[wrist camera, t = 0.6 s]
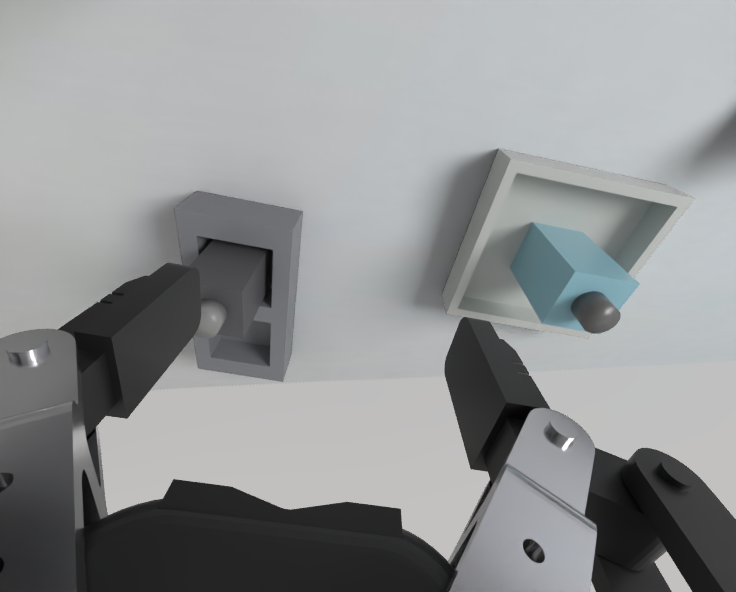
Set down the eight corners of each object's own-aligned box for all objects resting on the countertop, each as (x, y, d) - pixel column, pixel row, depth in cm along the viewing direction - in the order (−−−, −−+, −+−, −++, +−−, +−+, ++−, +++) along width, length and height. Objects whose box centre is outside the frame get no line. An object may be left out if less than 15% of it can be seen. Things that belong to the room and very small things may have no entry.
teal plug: (532, 222, 25) (588, 285, 18) (583, 232, 26) (656, 299, 19) (509, 267, 28) (551, 339, 21) (556, 276, 28) (612, 350, 21)
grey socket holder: (197, 190, 26) (173, 207, 23) (302, 211, 26) (292, 230, 24) (213, 342, 35) (197, 368, 32) (291, 355, 36) (282, 381, 33)
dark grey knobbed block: (221, 231, 27) (162, 294, 20) (272, 241, 27) (233, 306, 20) (223, 274, 29) (173, 344, 22) (271, 282, 29) (235, 354, 22)
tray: (498, 148, 23) (511, 158, 21) (666, 184, 24) (695, 198, 22) (441, 294, 30) (446, 314, 28) (572, 318, 31) (587, 339, 29)
